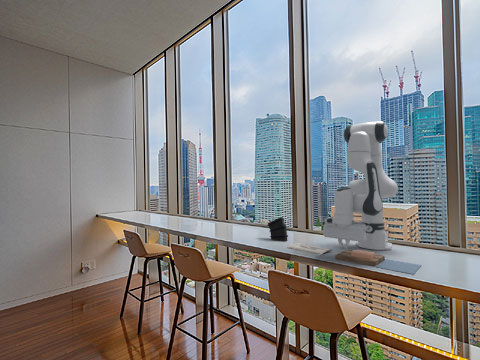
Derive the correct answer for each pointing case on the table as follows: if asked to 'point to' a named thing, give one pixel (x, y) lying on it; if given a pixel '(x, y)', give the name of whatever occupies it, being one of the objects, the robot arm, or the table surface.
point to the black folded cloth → (278, 229)
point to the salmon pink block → (363, 254)
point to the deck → (347, 257)
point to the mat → (399, 266)
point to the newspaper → (308, 248)
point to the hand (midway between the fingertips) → (343, 248)
